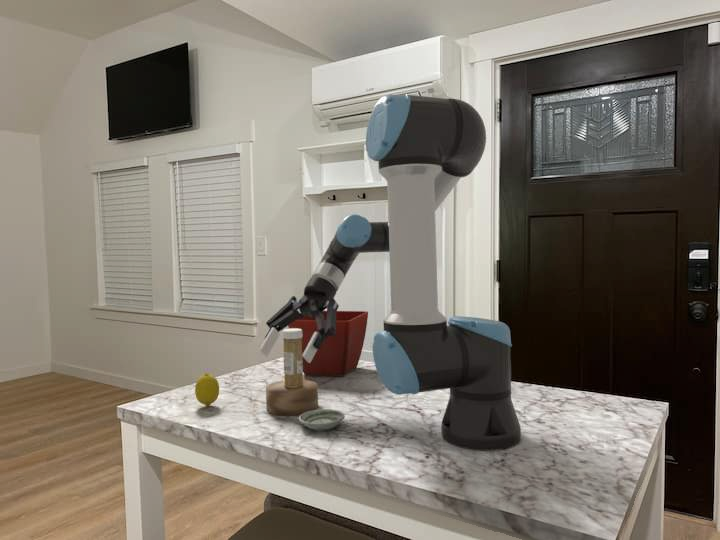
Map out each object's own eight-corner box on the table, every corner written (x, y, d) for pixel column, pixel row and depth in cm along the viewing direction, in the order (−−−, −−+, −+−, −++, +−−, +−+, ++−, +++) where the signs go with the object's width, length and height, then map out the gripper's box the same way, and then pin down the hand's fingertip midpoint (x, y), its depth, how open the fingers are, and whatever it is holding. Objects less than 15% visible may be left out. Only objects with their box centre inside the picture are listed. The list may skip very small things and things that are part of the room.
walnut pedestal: (328, 404, 126) (328, 383, 126) (294, 419, 116) (293, 396, 116) (290, 397, 133) (290, 377, 132) (255, 410, 123) (254, 388, 123)
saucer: (332, 416, 118) (332, 405, 118) (353, 429, 110) (352, 417, 110) (291, 424, 113) (291, 413, 113) (310, 438, 105) (309, 426, 105)
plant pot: (287, 377, 153) (285, 318, 152) (313, 362, 171) (312, 310, 170) (350, 381, 147) (348, 320, 146) (370, 365, 165) (369, 311, 164)
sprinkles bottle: (306, 387, 123) (305, 329, 122) (288, 390, 121) (287, 331, 120) (298, 382, 127) (297, 327, 126) (280, 385, 125) (279, 328, 124)
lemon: (213, 410, 123) (211, 376, 123) (191, 409, 124) (189, 376, 124) (223, 403, 129) (222, 370, 128) (202, 402, 130) (201, 370, 129)
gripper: (370, 296, 128) (334, 371, 117) (294, 292, 143) (254, 359, 131) (357, 276, 124) (317, 352, 112) (279, 274, 138) (237, 341, 127)
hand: (283, 356), depth 122 cm, fingers open, 13 cm apart
